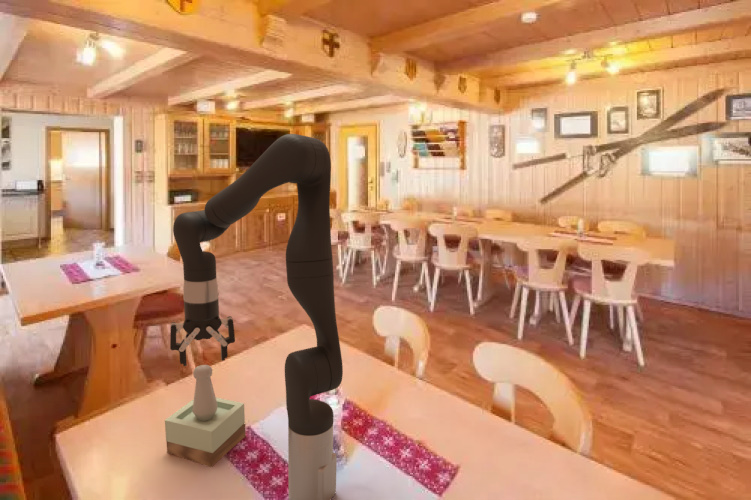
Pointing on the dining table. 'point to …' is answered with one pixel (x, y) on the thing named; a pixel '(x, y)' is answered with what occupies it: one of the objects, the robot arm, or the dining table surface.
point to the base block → (204, 456)
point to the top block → (205, 426)
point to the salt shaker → (204, 394)
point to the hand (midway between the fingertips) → (204, 362)
